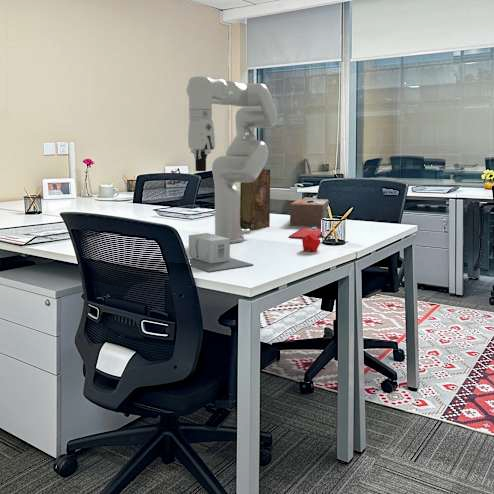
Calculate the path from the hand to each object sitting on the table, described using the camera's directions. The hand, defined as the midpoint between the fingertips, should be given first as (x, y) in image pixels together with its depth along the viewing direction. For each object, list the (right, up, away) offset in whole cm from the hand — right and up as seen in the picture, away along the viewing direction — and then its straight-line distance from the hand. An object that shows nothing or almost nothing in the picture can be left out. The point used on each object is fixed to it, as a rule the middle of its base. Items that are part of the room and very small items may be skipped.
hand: (200, 170), depth 195 cm
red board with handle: (+44, -21, +42) cm, 64 cm away
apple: (+38, -27, +5) cm, 47 cm away
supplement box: (+8, -27, -19) cm, 34 cm away
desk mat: (+6, -31, -18) cm, 36 cm away
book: (+20, -18, +56) cm, 62 cm away
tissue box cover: (+45, -15, +74) cm, 88 cm away
